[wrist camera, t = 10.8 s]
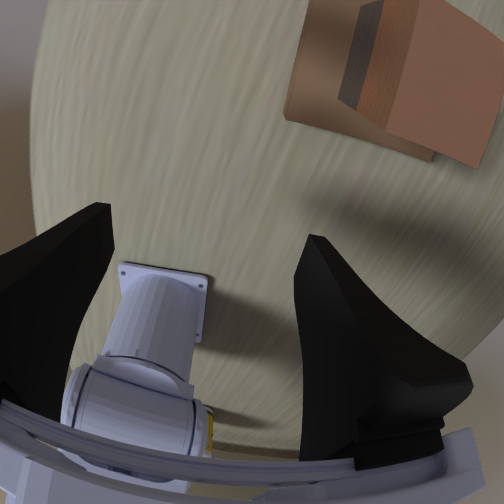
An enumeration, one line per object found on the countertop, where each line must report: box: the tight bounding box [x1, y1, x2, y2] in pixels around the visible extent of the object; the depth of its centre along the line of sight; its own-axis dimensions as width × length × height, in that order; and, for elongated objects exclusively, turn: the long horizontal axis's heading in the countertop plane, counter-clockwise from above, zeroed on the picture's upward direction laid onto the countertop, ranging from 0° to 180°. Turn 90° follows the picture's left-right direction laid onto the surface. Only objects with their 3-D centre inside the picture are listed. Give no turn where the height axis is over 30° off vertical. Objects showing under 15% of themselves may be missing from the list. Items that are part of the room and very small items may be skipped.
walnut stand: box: [283, 0, 435, 163], centre depth 14 cm, size 10×10×2 cm
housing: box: [337, 0, 504, 169], centre depth 11 cm, size 5×6×7 cm
